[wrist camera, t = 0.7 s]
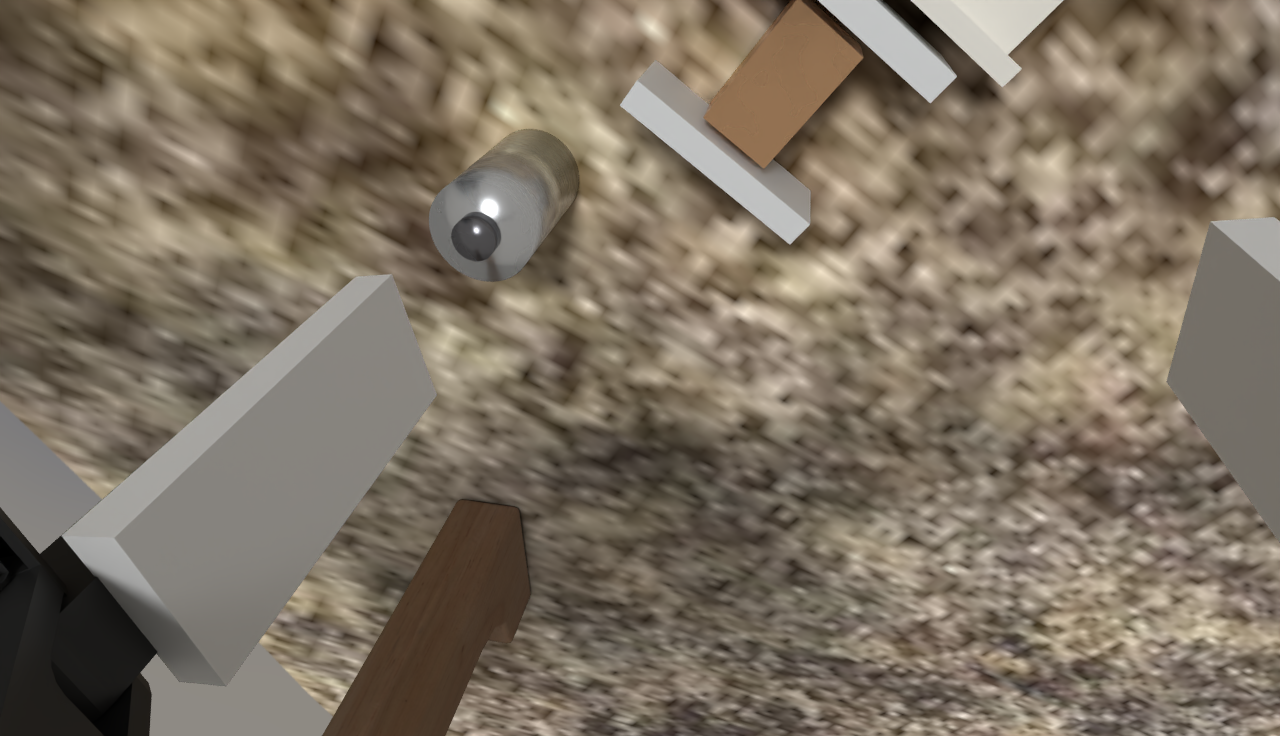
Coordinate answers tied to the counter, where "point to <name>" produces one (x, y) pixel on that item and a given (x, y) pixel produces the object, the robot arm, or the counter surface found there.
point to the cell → (504, 205)
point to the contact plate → (783, 80)
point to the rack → (988, 28)
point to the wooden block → (441, 627)
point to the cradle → (773, 187)
